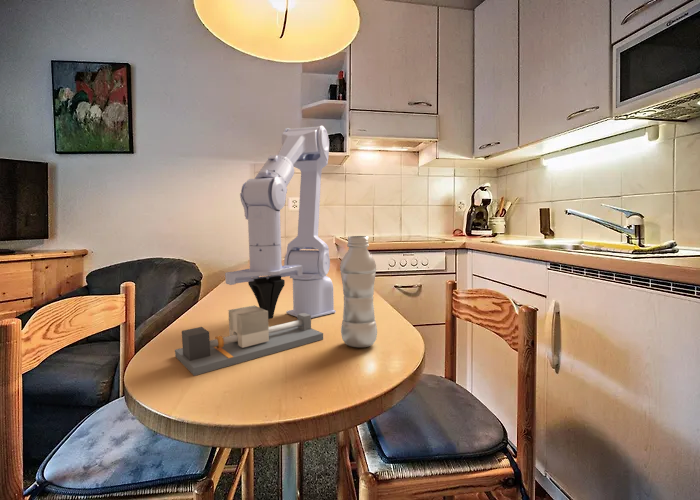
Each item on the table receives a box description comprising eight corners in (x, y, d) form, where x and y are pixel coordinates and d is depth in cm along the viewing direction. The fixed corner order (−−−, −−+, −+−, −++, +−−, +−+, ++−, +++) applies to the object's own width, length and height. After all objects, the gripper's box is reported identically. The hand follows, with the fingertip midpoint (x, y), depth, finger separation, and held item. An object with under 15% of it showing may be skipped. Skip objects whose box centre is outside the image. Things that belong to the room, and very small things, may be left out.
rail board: (295, 327, 78) (295, 303, 77) (323, 339, 70) (322, 312, 69) (175, 356, 62) (173, 326, 62) (194, 375, 55) (192, 342, 54)
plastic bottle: (366, 354, 62) (365, 238, 60) (333, 347, 66) (332, 237, 64) (383, 343, 68) (383, 235, 66) (352, 337, 71) (351, 235, 69)
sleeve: (255, 333, 69) (254, 305, 69) (268, 341, 65) (267, 310, 64) (229, 339, 66) (228, 310, 65) (242, 347, 62) (241, 316, 61)
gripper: (235, 249, 58) (239, 331, 60) (310, 243, 68) (312, 314, 69) (219, 246, 64) (222, 321, 65) (290, 241, 73) (292, 307, 74)
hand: (267, 317), depth 67 cm, fingers closed
